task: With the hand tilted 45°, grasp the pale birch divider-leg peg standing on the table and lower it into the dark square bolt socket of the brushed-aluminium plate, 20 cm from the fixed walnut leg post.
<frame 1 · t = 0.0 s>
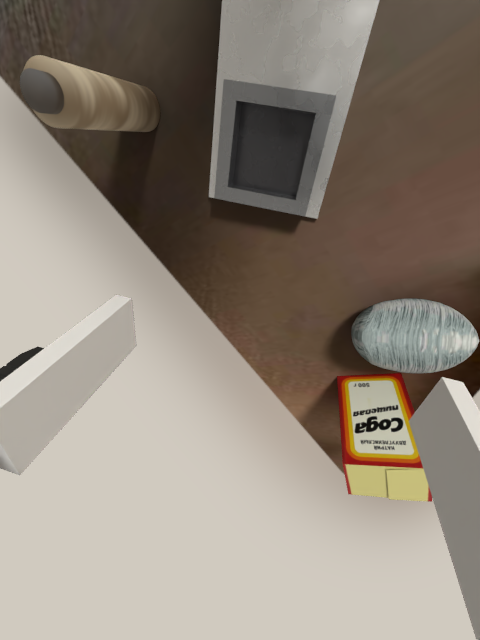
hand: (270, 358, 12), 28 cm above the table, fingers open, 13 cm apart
bolt plate: (292, 31, 27), on the table
birch leg peg: (143, 109, 33), on the table
baking soda box: (369, 388, 47), on the table
spool: (401, 318, 39), on the table
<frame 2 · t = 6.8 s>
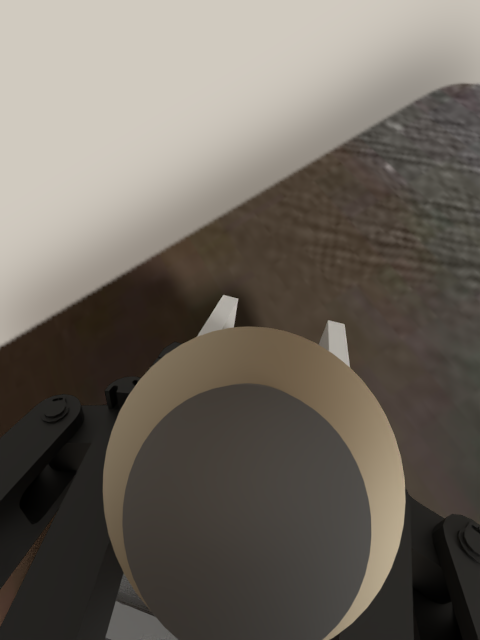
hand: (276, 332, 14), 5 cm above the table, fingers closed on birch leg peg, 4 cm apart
birch leg peg: (258, 401, 18), on the table, touching gripper
when the fingers open (7 cm above the table, at t = 13.0 s): birch leg peg drops 1 cm, resting on bolt plate.
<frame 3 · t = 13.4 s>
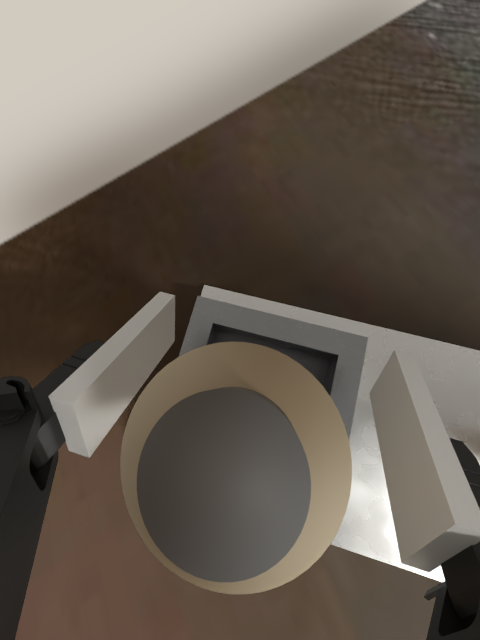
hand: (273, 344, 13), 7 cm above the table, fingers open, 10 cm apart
bolt plate: (406, 441, 18), on the table
birch leg peg: (258, 400, 19), point 1 cm above the table, touching bolt plate
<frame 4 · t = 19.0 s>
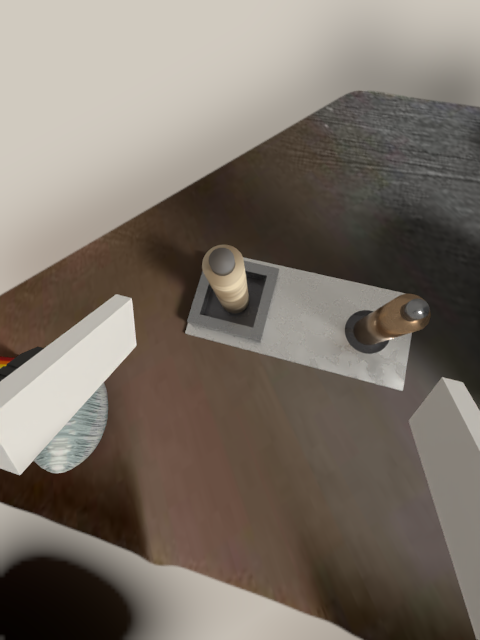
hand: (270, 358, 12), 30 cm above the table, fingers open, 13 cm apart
bolt plate: (298, 315, 43), on the table
birch leg peg: (234, 299, 43), point 1 cm above the table, touching bolt plate
spool: (88, 411, 42), on the table
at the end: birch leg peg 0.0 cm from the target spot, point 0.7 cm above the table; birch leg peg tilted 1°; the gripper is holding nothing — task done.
